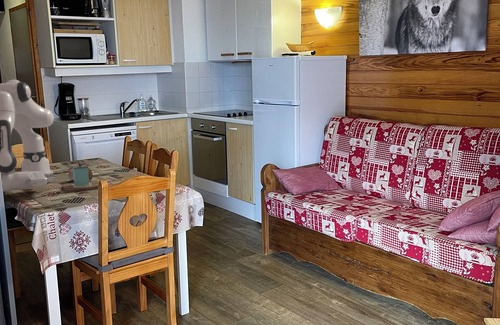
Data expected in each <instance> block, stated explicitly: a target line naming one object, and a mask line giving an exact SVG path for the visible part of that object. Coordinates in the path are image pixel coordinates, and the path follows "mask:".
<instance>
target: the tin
mask: <svg viewBox="0 0 500 325" xmlns="http://www.w3.org/2000/svg"><path fill="white" fill-rule="evenodd" d="M67 172H68V178H69V179H70V180H71V181H73V182H74V178H73V167H72V166H71V167H70V168H69V169H68V171H67ZM88 173H89V181H92V180H93V177H94V175H93V172H92V170H91V168H89V167H88Z"/></svg>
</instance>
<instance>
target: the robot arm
mask: <svg viewBox="0 0 500 325" xmlns="http://www.w3.org/2000/svg"><path fill="white" fill-rule="evenodd" d="M54 120H55V116H54V113H53V112H52V110H49V109H47V108H44V107H42V106H40V105H39V104H38V103H37V102H36V101H34V100H33V99H32V91H31V88H30V86H29V85H28V84H27V83H26V82H23V81H20V80H18V79H10V80H7V81H6V82H2V83H0V172H1V179H2V186H3V192H11V191H15V190H18V191H20V190H28V189H31V187H43V186H47V185H48V183H51V182H56V180H57V179H56V177H55V176H54V174H53V173H54V171H53V170H51V168H50V161H49V159H48V158H47V157H46V150H45V146H44V138H43V137H42V136H41V134H38V133H37V132H35V131H34V130H33V129H39V128H40V129H41V128H47V127H51V126H52V125H53V124H54ZM13 129H14V130H15V131H16V132H17V133H18V135H19V136H20V139H21V143H22V147H23V148H22V149H23V154H22V156H23V160H22V161H21V163H20V168H21V171H17V172H16V167H17V164H18V161H17V160H18V159H17V157H16V156H15V153H14V152H13V147H12V132H13Z"/></svg>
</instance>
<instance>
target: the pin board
mask: <svg viewBox="0 0 500 325" xmlns="http://www.w3.org/2000/svg"><path fill="white" fill-rule="evenodd" d="M98 182H99V181H98V180H90V181H89V185H85V186H77V187H76V186H75V185H74V182H70V183H62V184H61V187H62V189H63V190H64V192H65V193H66V194H68V193H76V192H85V191H91V190H99V189H98Z"/></svg>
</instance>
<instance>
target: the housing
mask: <svg viewBox="0 0 500 325" xmlns="http://www.w3.org/2000/svg"><path fill="white" fill-rule="evenodd" d="M71 167H73V178H74V181H73V183H74V185H75V186H76V187H77V186H85V185H89V173H88V168H89V165H87V164H82V162H81V161H80V162H78V165H73V166H71Z"/></svg>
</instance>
